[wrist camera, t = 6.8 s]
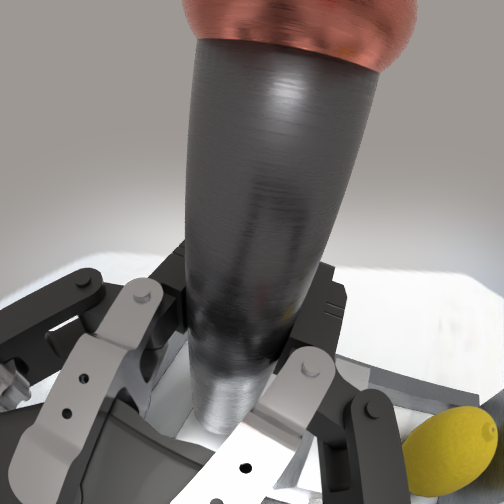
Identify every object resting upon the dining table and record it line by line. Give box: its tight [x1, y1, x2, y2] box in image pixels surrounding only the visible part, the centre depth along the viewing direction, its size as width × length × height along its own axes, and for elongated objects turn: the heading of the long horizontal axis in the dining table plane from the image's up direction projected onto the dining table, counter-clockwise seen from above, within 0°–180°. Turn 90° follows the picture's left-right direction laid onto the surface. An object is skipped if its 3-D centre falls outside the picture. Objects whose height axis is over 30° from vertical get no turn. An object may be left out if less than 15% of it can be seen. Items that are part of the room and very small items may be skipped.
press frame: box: [151, 330, 504, 504], centre depth 12 cm, size 26×13×7 cm, turn 68°
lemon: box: [402, 406, 498, 497], centre depth 10 cm, size 6×6×8 cm
